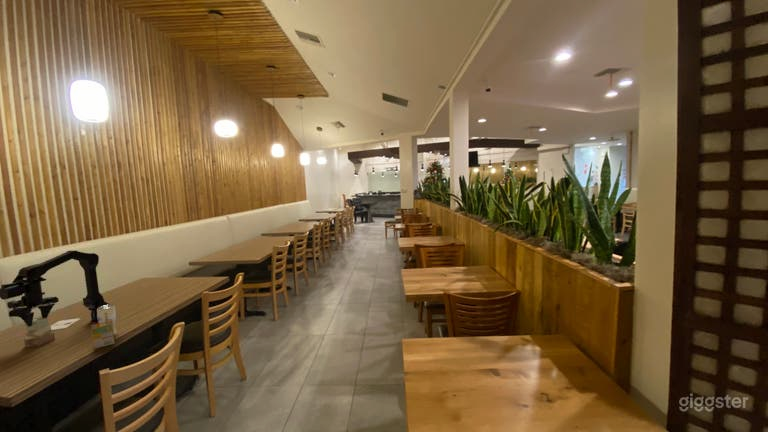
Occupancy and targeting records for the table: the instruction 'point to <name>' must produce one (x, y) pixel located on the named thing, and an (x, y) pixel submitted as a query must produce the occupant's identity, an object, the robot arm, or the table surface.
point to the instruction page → (63, 324)
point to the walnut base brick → (39, 340)
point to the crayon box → (103, 334)
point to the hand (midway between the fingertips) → (37, 323)
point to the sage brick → (38, 324)
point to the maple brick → (38, 333)
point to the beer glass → (107, 315)
